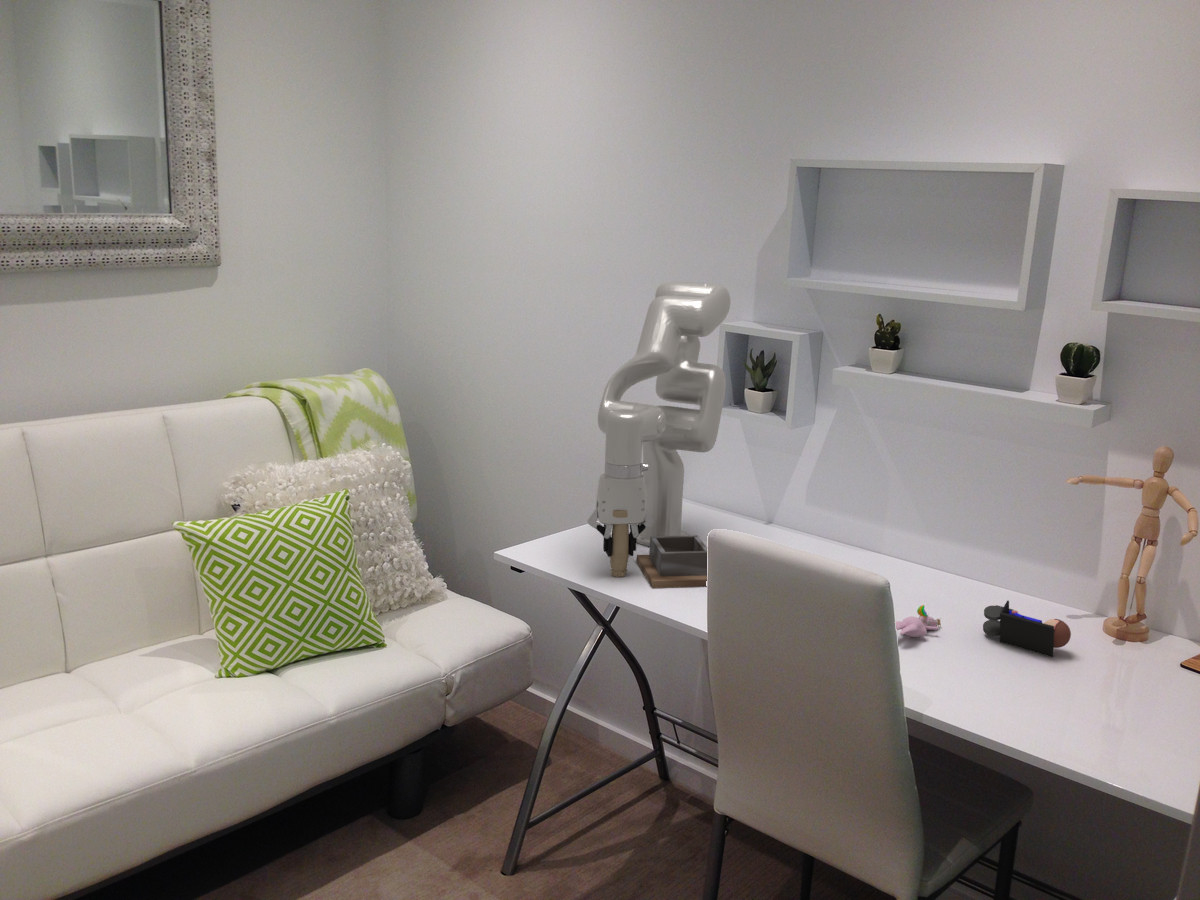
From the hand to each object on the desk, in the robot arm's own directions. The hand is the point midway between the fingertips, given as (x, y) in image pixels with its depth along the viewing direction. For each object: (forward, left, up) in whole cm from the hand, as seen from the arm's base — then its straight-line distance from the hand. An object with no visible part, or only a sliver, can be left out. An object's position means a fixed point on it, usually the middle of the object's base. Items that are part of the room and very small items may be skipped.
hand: (619, 553), depth 218 cm
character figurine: (+42, +68, -5) cm, 80 cm away
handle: (0, 0, -5) cm, 5 cm away
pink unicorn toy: (+35, +50, -5) cm, 61 cm away
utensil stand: (0, +13, -5) cm, 14 cm away
